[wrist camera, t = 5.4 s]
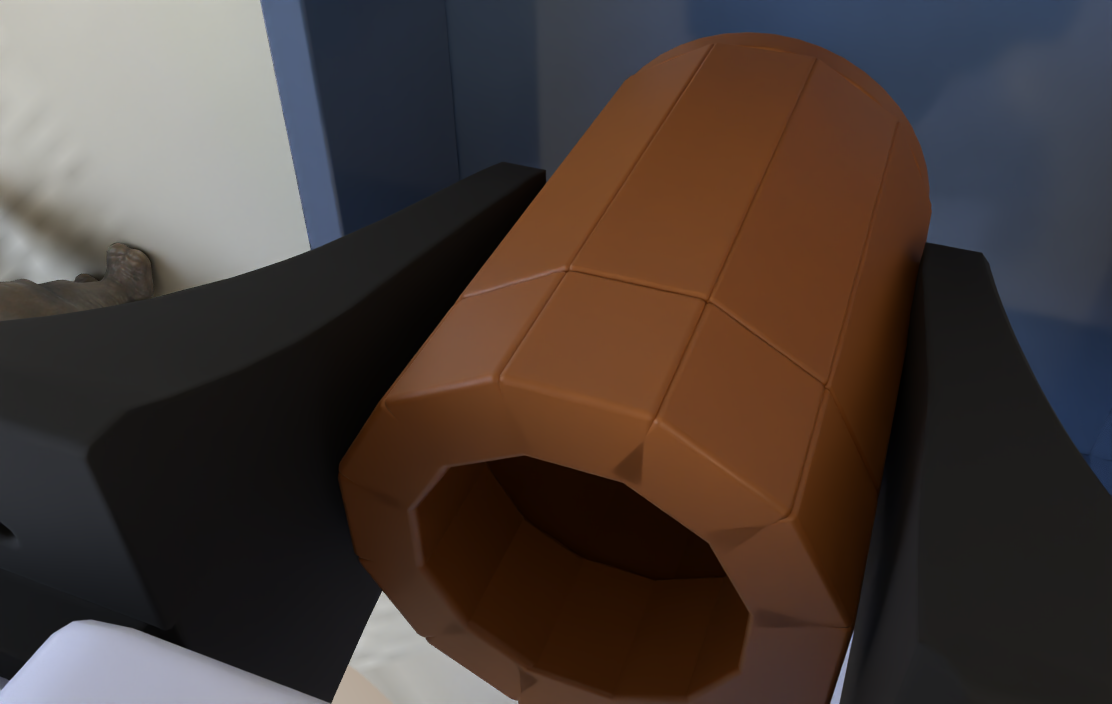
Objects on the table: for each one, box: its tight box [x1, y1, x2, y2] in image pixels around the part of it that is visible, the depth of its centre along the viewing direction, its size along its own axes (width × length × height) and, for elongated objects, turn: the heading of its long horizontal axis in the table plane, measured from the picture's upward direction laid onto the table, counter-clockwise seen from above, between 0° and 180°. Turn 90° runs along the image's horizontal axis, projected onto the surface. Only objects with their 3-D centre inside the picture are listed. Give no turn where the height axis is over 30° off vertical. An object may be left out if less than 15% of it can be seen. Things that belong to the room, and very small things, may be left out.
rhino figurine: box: [0, 243, 154, 321], centre depth 24 cm, size 4×14×6 cm, turn 57°
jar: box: [338, 32, 932, 704], centre depth 11 cm, size 5×5×7 cm
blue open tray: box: [260, 0, 1112, 496], centre depth 14 cm, size 12×13×5 cm
